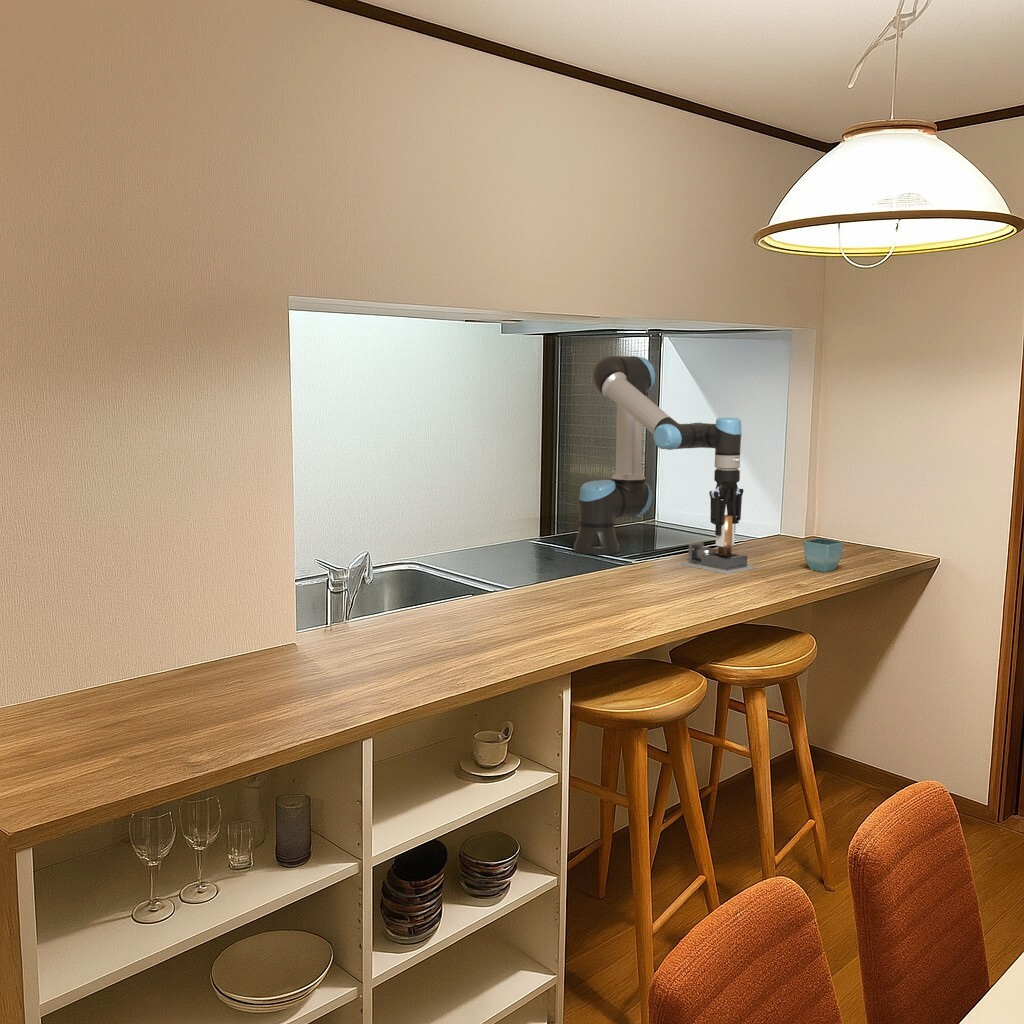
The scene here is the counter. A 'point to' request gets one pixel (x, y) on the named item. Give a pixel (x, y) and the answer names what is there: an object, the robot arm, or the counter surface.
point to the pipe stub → (727, 537)
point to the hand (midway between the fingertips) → (724, 545)
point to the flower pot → (823, 554)
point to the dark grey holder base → (715, 560)
